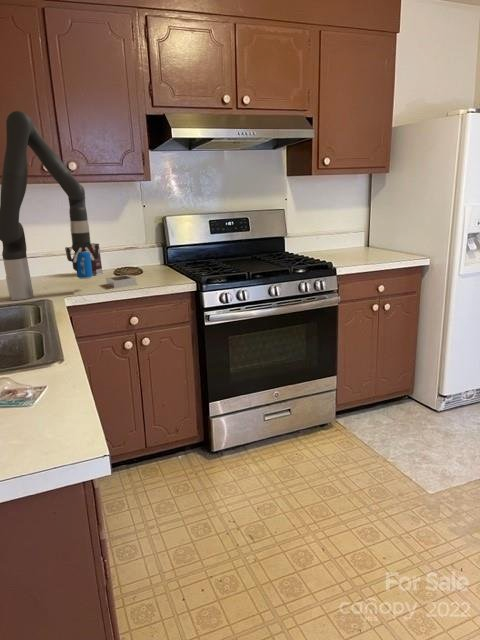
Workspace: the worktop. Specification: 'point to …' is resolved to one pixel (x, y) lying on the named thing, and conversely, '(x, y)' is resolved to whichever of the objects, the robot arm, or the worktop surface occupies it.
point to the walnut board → (106, 287)
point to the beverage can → (84, 265)
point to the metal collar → (121, 281)
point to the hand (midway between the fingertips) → (84, 269)
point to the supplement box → (96, 262)
